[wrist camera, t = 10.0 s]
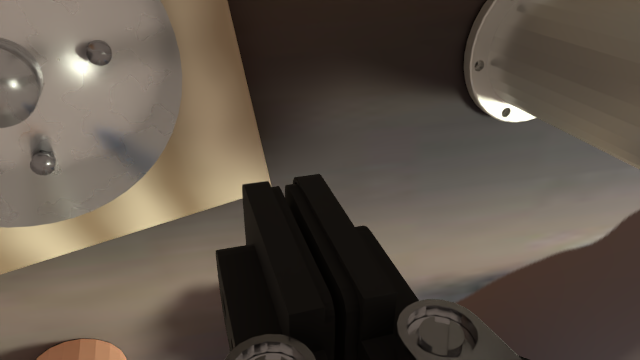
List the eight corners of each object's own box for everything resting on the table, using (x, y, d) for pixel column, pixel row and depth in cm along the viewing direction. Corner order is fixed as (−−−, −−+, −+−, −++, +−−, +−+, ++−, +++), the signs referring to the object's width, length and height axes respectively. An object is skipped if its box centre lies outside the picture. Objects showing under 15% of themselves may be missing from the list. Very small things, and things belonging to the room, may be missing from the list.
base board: (162, -250, 24) (173, -290, 19) (265, 176, 37) (287, 217, 32) (-488, -180, 19) (-704, -211, 14) (-101, 289, 32) (-141, 358, 27)
